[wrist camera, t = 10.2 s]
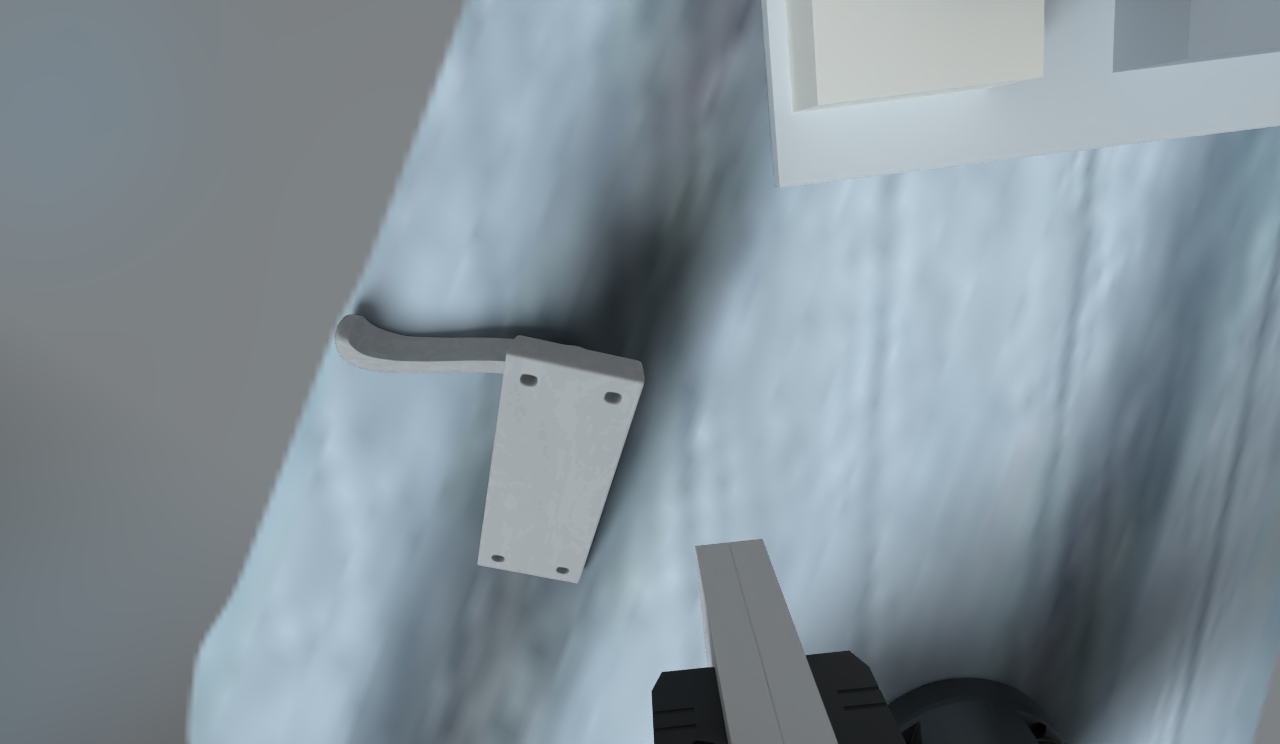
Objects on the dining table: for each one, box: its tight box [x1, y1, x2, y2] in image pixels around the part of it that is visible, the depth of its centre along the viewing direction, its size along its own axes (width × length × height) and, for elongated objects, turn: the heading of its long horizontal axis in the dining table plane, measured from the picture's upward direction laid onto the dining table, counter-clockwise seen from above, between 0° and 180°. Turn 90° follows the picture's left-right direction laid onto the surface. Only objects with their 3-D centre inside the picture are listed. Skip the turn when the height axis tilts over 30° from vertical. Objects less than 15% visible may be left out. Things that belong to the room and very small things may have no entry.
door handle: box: [335, 315, 645, 583], centre depth 47 cm, size 18×8×20 cm
